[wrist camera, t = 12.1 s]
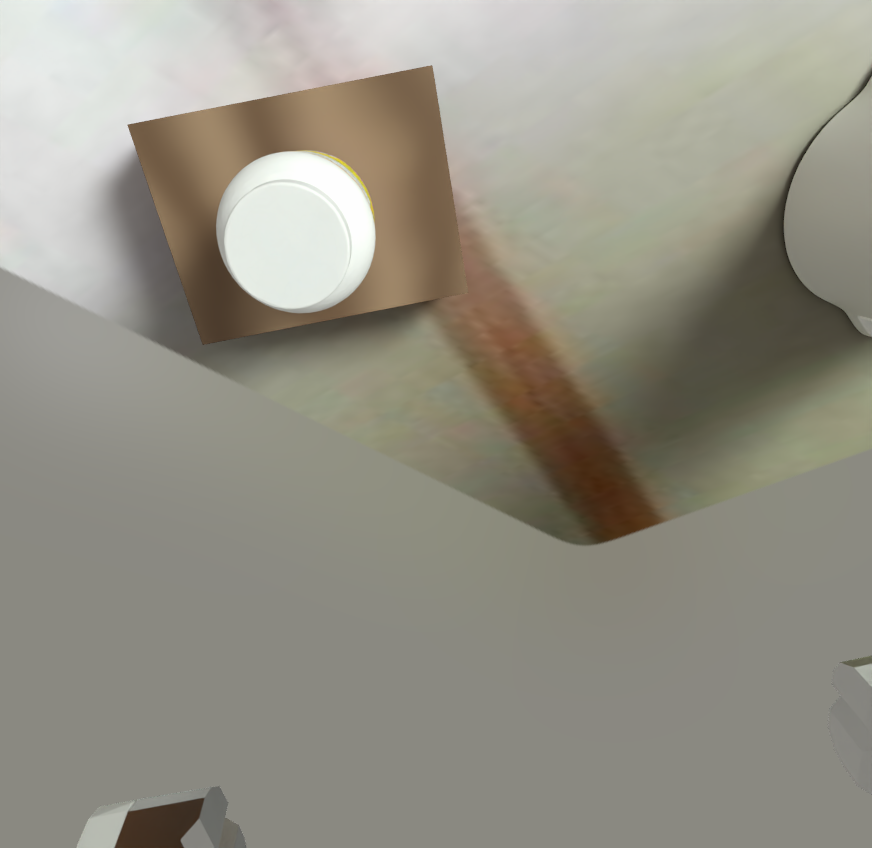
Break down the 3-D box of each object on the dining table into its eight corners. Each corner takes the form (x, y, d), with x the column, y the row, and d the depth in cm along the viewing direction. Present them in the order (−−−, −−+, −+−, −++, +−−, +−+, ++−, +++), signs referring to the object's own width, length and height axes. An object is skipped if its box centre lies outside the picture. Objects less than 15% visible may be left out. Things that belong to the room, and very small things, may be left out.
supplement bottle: (316, 299, 38) (291, 370, 26) (227, 212, 35) (154, 246, 24) (399, 217, 36) (412, 252, 25) (312, 121, 34) (279, 109, 22)
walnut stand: (425, 73, 38) (432, 65, 33) (458, 276, 43) (468, 292, 38) (157, 126, 38) (127, 124, 33) (221, 322, 43) (202, 344, 38)
